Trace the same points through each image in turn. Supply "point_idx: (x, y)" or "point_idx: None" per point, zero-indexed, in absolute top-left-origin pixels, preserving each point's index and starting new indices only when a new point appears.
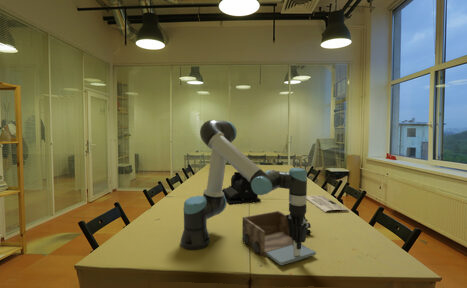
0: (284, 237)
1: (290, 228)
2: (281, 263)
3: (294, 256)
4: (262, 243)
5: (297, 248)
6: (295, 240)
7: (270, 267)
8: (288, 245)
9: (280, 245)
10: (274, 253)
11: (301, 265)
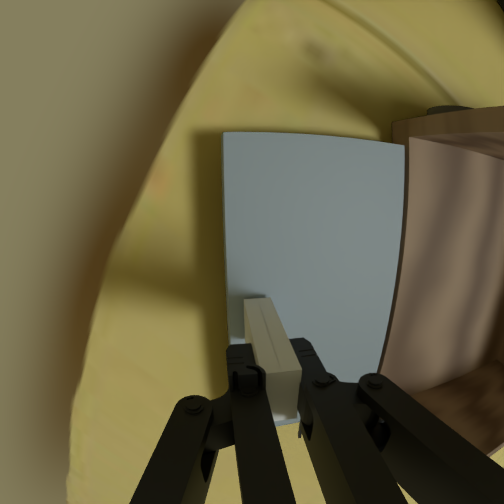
0: (447, 358)
1: (422, 447)
2: (223, 139)
3: (252, 294)
4: (454, 111)
5: (242, 347)
6: (295, 389)
7: (269, 87)
8: (388, 340)
9: (416, 293)
10: (366, 184)
11: (198, 297)
